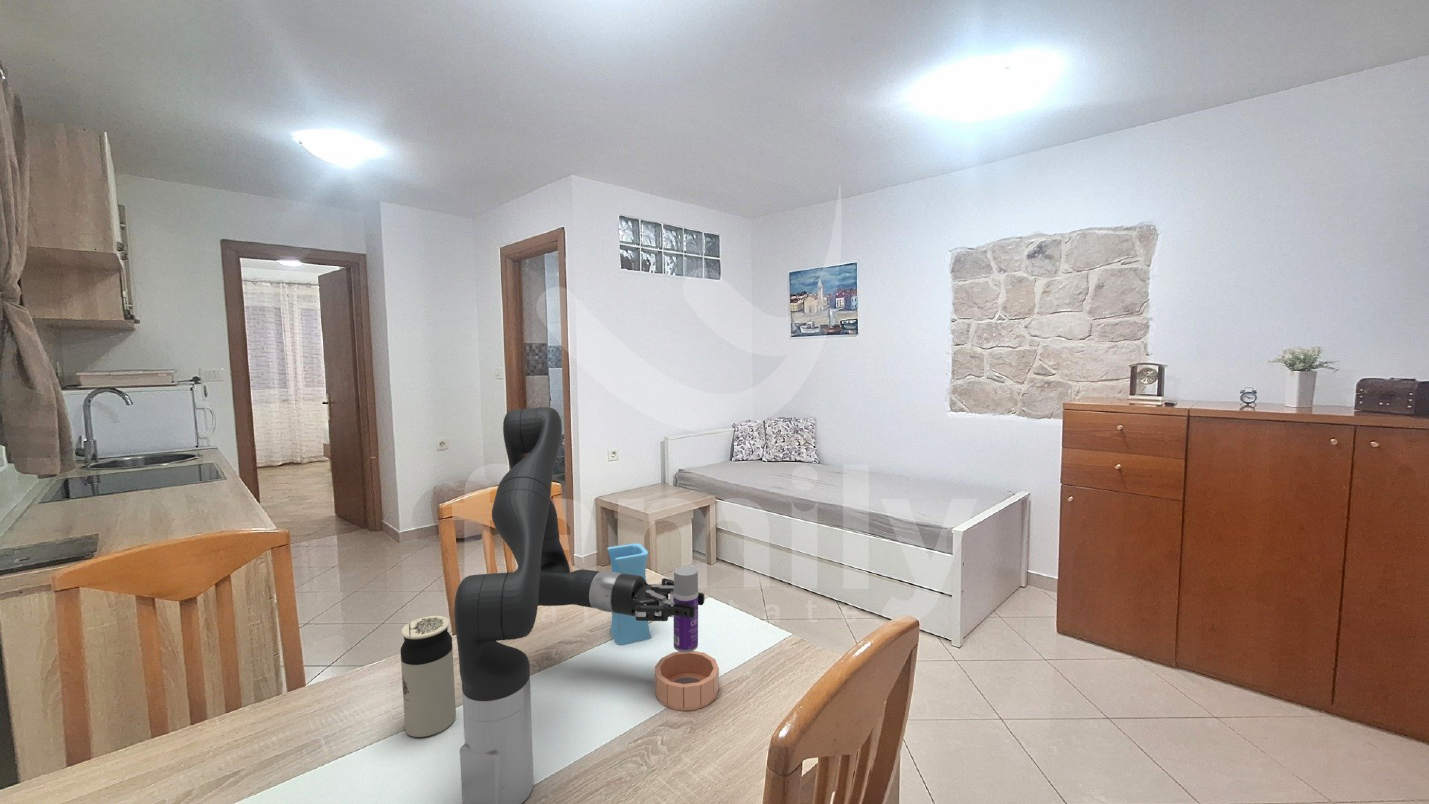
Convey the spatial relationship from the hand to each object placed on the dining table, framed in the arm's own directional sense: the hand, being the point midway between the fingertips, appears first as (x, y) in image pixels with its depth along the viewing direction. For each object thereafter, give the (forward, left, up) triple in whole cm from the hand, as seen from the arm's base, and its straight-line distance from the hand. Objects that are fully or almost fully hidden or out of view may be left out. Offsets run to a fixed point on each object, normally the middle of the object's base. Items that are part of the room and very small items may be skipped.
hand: (699, 605), depth 103 cm
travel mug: (-22, +43, -18) cm, 51 cm away
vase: (+16, +23, -18) cm, 33 cm away
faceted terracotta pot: (0, +3, -17) cm, 18 cm away
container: (0, +3, -9) cm, 9 cm away
